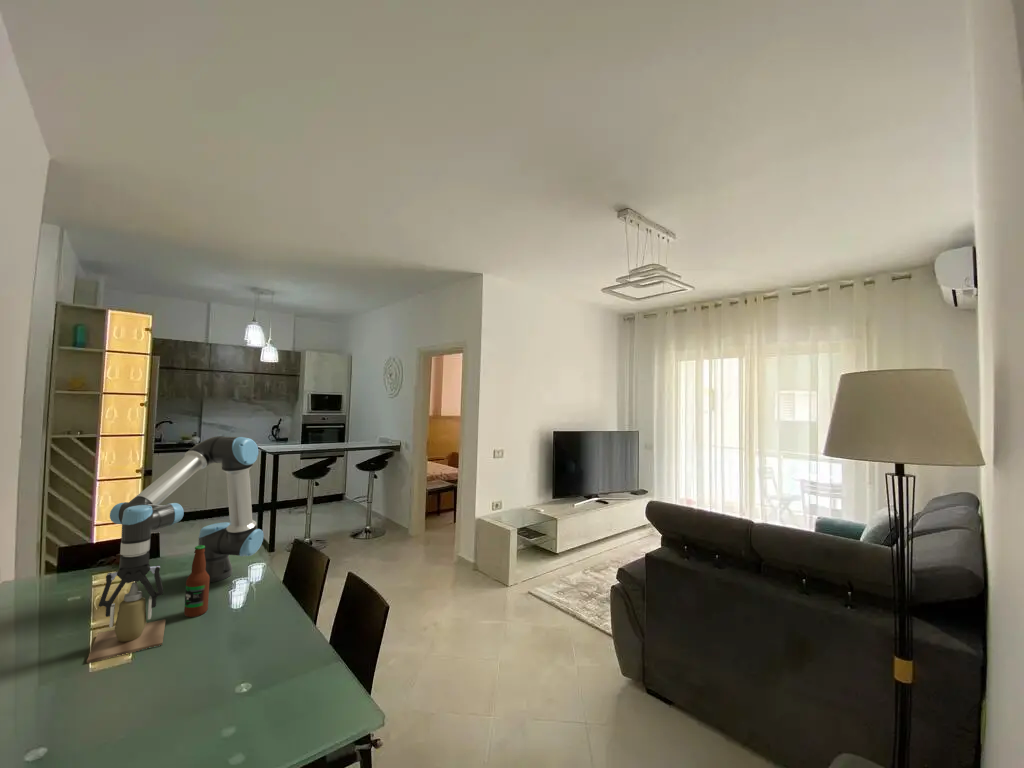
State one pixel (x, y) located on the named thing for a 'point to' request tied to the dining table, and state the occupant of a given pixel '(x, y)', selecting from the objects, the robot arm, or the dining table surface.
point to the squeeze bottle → (131, 615)
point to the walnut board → (110, 645)
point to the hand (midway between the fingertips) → (130, 621)
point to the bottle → (197, 586)
